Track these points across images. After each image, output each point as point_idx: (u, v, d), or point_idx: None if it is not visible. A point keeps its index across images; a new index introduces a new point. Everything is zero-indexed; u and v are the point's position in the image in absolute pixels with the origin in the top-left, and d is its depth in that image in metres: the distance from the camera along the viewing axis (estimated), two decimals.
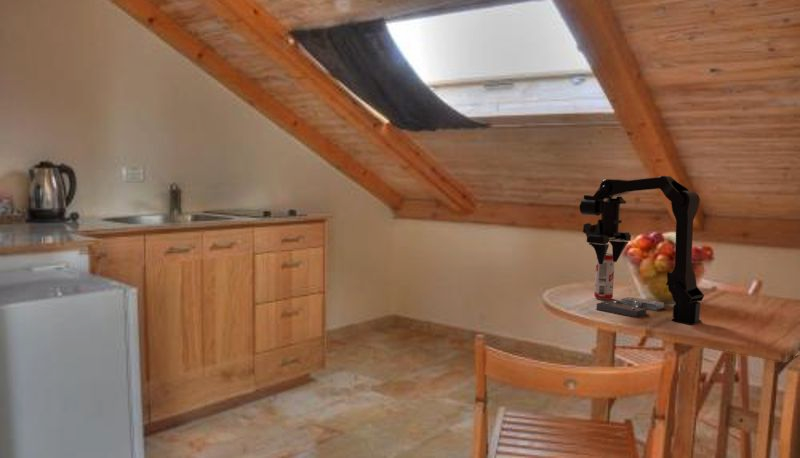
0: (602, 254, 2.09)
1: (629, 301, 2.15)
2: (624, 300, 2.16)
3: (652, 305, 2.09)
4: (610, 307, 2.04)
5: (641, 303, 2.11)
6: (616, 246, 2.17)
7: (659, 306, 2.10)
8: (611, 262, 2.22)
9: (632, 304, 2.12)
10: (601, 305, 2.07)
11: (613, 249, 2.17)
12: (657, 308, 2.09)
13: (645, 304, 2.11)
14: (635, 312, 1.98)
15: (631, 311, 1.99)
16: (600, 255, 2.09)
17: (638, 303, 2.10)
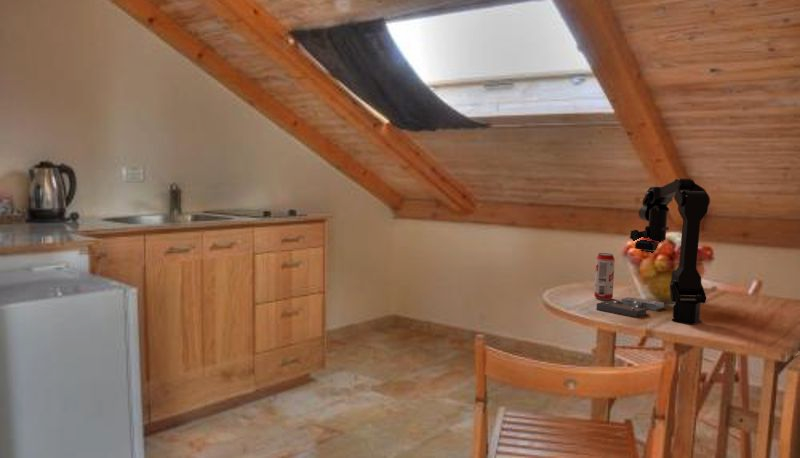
0: None
1: (629, 301, 2.15)
2: (624, 300, 2.16)
3: (652, 305, 2.09)
4: (610, 307, 2.04)
5: (641, 303, 2.11)
6: None
7: (659, 306, 2.10)
8: (611, 262, 2.22)
9: (632, 304, 2.12)
10: (601, 305, 2.07)
11: None
12: (657, 308, 2.09)
13: (645, 304, 2.11)
14: (635, 312, 1.98)
15: (631, 311, 1.99)
16: None
17: (638, 303, 2.10)
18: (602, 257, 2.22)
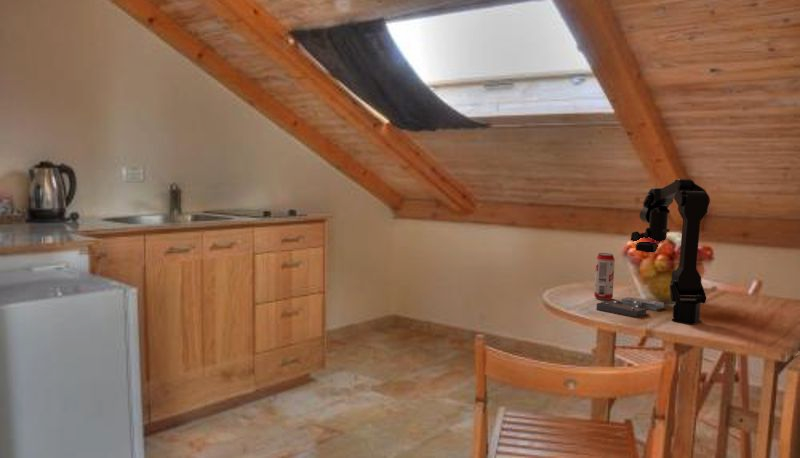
0: None
1: (629, 301, 2.15)
2: (624, 300, 2.16)
3: (652, 305, 2.09)
4: (610, 307, 2.04)
5: (641, 303, 2.11)
6: None
7: (659, 306, 2.10)
8: (611, 262, 2.22)
9: (632, 304, 2.12)
10: (601, 305, 2.07)
11: None
12: (657, 308, 2.09)
13: (645, 304, 2.11)
14: (635, 312, 1.98)
15: (631, 311, 1.99)
16: None
17: (638, 303, 2.10)
18: (602, 257, 2.22)
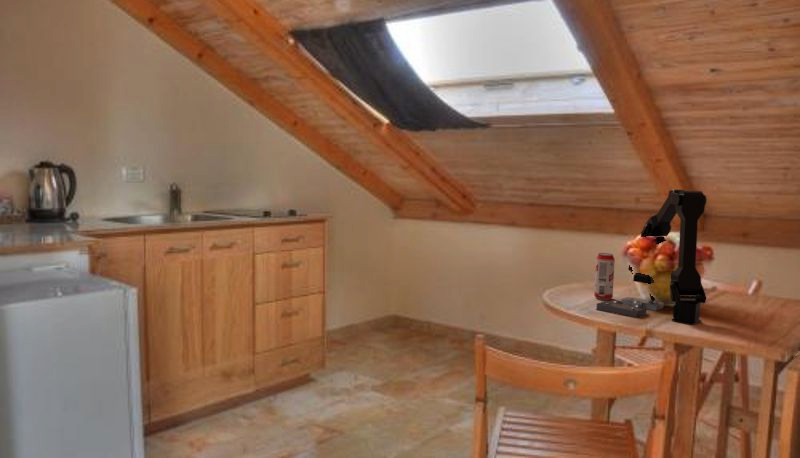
0: None
1: (629, 301, 2.15)
2: (624, 300, 2.16)
3: (652, 305, 2.09)
4: (610, 307, 2.04)
5: (641, 303, 2.11)
6: None
7: (659, 306, 2.10)
8: (611, 262, 2.22)
9: (632, 304, 2.11)
10: (601, 305, 2.07)
11: None
12: (657, 308, 2.09)
13: (645, 304, 2.11)
14: (635, 312, 1.98)
15: (631, 311, 1.99)
16: None
17: (638, 303, 2.10)
18: (602, 257, 2.22)
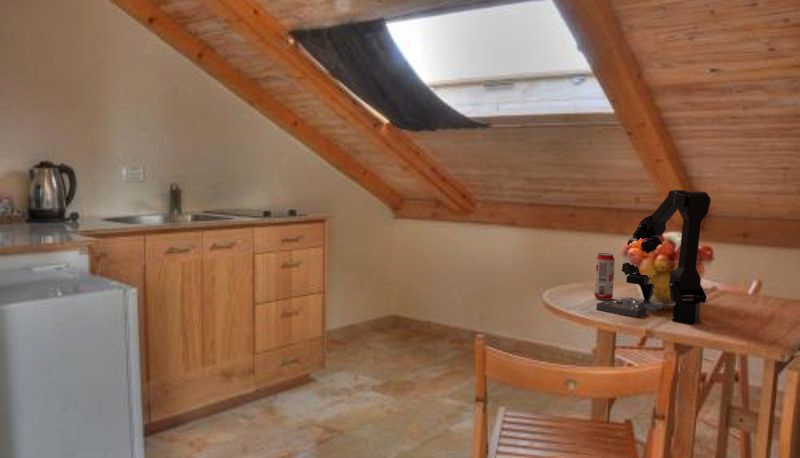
0: (648, 293, 2.15)
1: (628, 301, 2.14)
2: (623, 300, 2.16)
3: (651, 305, 2.09)
4: (610, 307, 2.04)
5: (640, 303, 2.10)
6: None
7: (658, 306, 2.10)
8: (611, 262, 2.22)
9: (631, 304, 2.11)
10: (601, 305, 2.07)
11: None
12: (656, 308, 2.09)
13: (644, 304, 2.11)
14: (635, 312, 1.98)
15: (631, 311, 1.99)
16: (646, 293, 2.15)
17: (637, 303, 2.10)
18: (602, 257, 2.22)
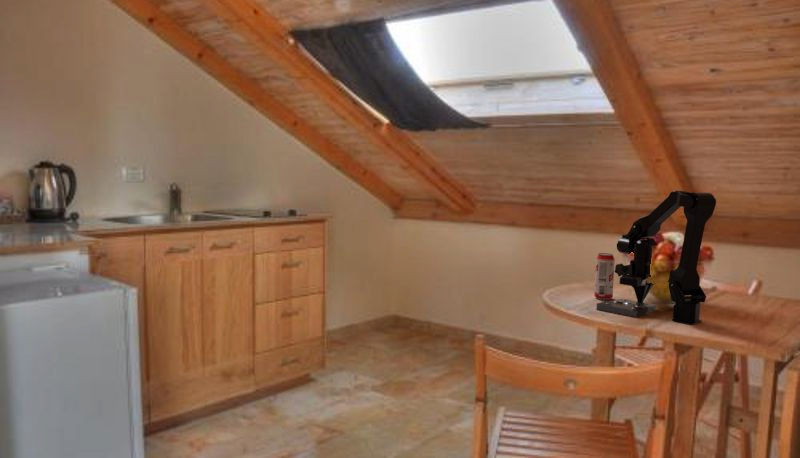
0: (641, 294, 2.12)
1: None
2: None
3: None
4: (610, 307, 2.04)
5: (632, 305, 2.07)
6: None
7: (651, 308, 2.07)
8: (611, 262, 2.22)
9: None
10: (601, 305, 2.07)
11: None
12: (649, 310, 2.06)
13: None
14: (635, 312, 1.98)
15: (631, 311, 1.99)
16: (639, 295, 2.12)
17: (629, 305, 2.07)
18: (602, 257, 2.22)
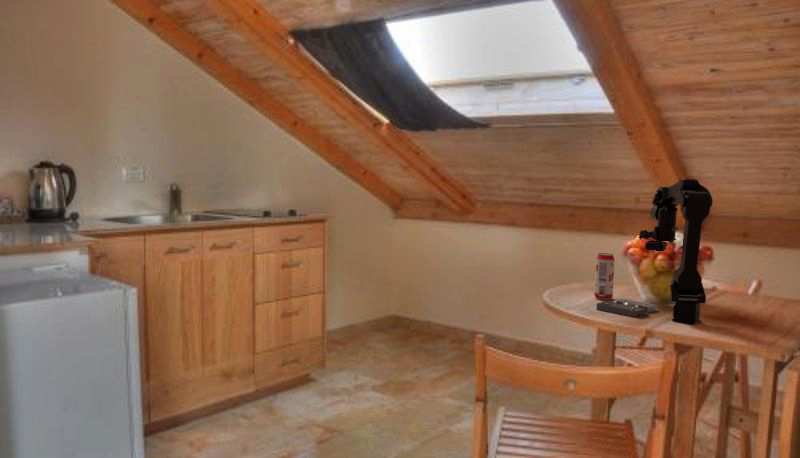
0: None
1: None
2: None
3: None
4: (610, 307, 2.04)
5: (632, 305, 2.07)
6: None
7: (651, 308, 2.07)
8: (611, 262, 2.22)
9: None
10: (601, 305, 2.07)
11: None
12: (648, 310, 2.06)
13: None
14: (635, 312, 1.98)
15: (631, 311, 1.99)
16: None
17: (629, 305, 2.07)
18: (602, 257, 2.22)
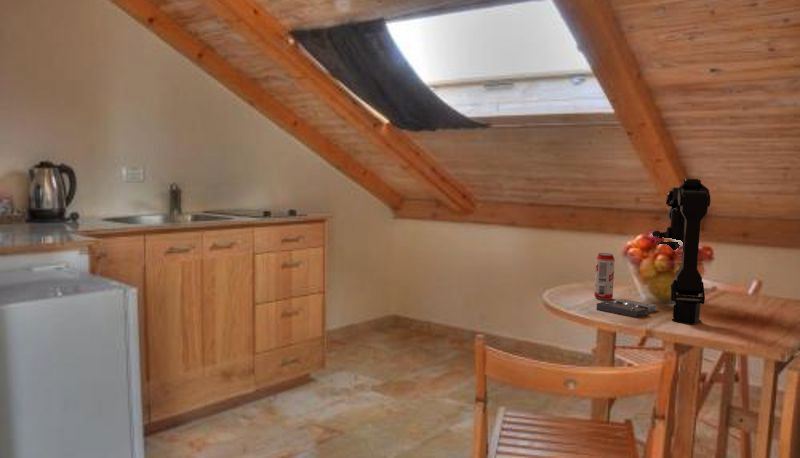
0: None
1: None
2: None
3: None
4: (610, 307, 2.04)
5: (632, 305, 2.07)
6: None
7: (651, 308, 2.07)
8: (611, 262, 2.22)
9: None
10: (601, 305, 2.07)
11: None
12: (648, 310, 2.06)
13: None
14: (635, 312, 1.98)
15: (631, 311, 1.99)
16: None
17: (629, 305, 2.07)
18: (602, 257, 2.22)
